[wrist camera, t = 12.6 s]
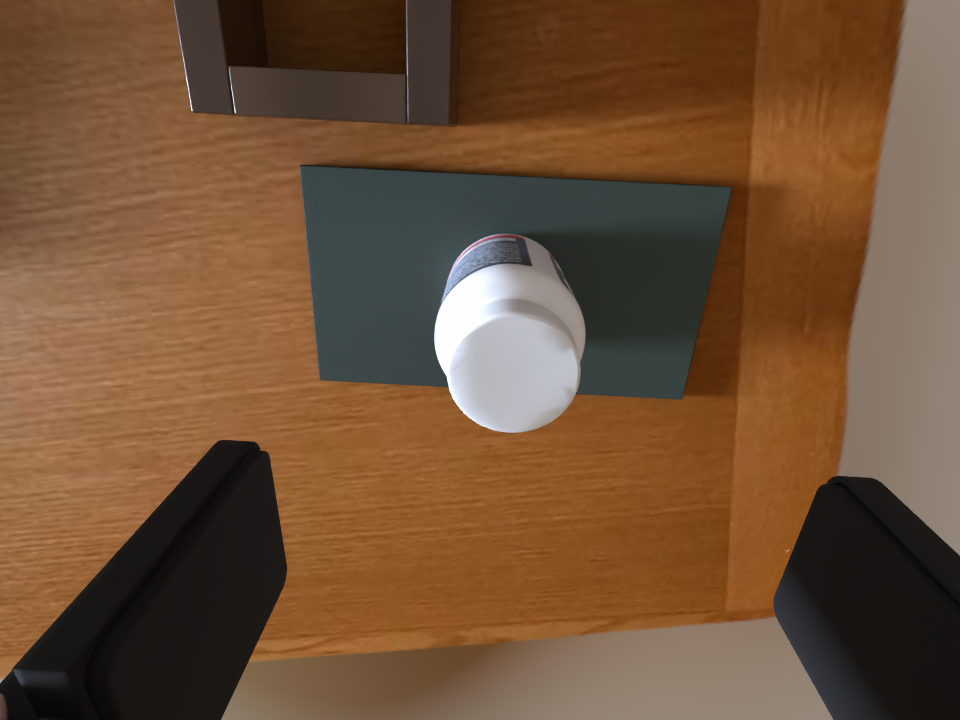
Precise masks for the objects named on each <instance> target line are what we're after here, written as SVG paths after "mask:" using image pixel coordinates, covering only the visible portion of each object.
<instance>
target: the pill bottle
mask: <svg viewBox="0 0 960 720" xmlns="http://www.w3.org/2000/svg"><path fill="white" fill-rule="evenodd" d="M584 346H585V324H584V318H583V315H582V312H581V309H580V306H579V304H578V302H577V300H576V298H575V296H574V294H573V292H572V290H571V288H570V286H569V284H568V282H567V280H566V278H565V276H564V274H563V272H562V270H561V268H560V266H559V265H558V263H557V261H556V260H555V259H554V257H553V256H552V255H551V254H550V253H549V252H548V251H547V250H546V249H545V248H544V247H543V246H541V245H540V244H539V243H537V242H535V241H533V240H531V239H529V238H526V237H523V236H520V235H515V234H496V235H491V236H488V237H485V238H482V239H480V240H478V241H477V242H475V243H473V244H472V245H470V246H469V247H468V248H467V249H466V250H465V251H463V253H462V254H461V255H460V256H459V257H458V259H457V260H456V262H455V263H454V265H453V267H452V269H451V272H450V274H449V277H448V281H447V285H446V288H445V292H444V295H443V299H442V302H441V306H440V308H439V312H438V316H437V320H436V325H435V349H436V353H437V357H438V360H439V362H440V365H441V367H442V369H443V371H444V372H445V374H446V376H447V379H448V385H449V389H450V392H451V394H452V397H453V399H454V401H455V402H456V404H457V405H458V406H459V408H460V409H461V410H462V411H463V412H464V413H465V414H466V415H467V416H468V417H469V418H470V419H472V420H473V421H475V422H476V423H478V424H480V425H481V426H484V427H487V428H489V429H492V430H496V431H501V432H514V433H516V432H526V431H530V430H534V429H537V428H540V427H542V426H545V425H547V424H548V423H550V422H552V421H553V420H555V419H556V418H557V417H559V416H560V415H561V414H562V413H563V412H564V411H565V410H566V409H567V407H568V406H569V405H570V404H571V402H572V400H573V398H574V396H575V394H576V392H577V389H578V386H579V383H580V375H581V367H580V361H581V358H582V355H583V351H584Z"/></svg>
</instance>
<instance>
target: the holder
mask: <svg viewBox="0 0 960 720" xmlns="http://www.w3.org/2000/svg"><path fill="white" fill-rule="evenodd" d="M173 3H174V9H175V15H176V21H177V27H178V33H179V39H180V44H181V50H182V56H183V62H184V68H185V74H186V80H187V86H188V92H189V98H190V104H191V110H192V112H194V113H205V114H219V115H232V116H250V117H269V118H289V119H309V120H329V121H349V122H369V123H389V124H409V125H429V126H449V127H456V126H457V109H458V69H459V29H460V0H406V60H407V75H406V74H396V73H376V72H356V71H336V70H316V69H295V68H275V67H268V64H267V55H266V46H265V36H264V27H263V18H262V9H261V0H173Z"/></svg>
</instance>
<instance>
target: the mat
mask: <svg viewBox="0 0 960 720" xmlns="http://www.w3.org/2000/svg"><path fill="white" fill-rule="evenodd" d="M300 173H301V184H302V194H303V205H304V216H305V227H306V238H307V248H308V259H309V270H310V281H311V291H312V302H313V313H314V324H315V335H316V345H317V356H318V367H319V378H320V380H326V381H345V382H363V383H382V384H401V385H420V386H438V387H449V385H448V379H447V376H446V374H445V372H444V371H443V369H442V367H441V365H440V362H439V360H438V357H437V353H436V349H435V325H436V320H437V316H438V312H439V308H440V306H441V302H442V299H443V295H444V292H445V288H446V285H447V281H448V277H449V274H450V272H451V269H452V267H453V265H454V263H455V262H456V260H457V259H458V257H459V256H460V255H461V254H462V253H463V251H465V250H466V249H467V248H468V247H469V246H470V245H472V244H473V243H475V242H477V241H478V240H480V239H482V238H485V237H488V236H491V235H496V234H515V235H520V236H523V237H526V238H529V239H531V240H533V241H535V242H537V243H539V244H540V245H541V246H543V247H544V248H545V249H546V250H547V251H548V252H549V253H550V254H551V255H552V256H553V257H554V259H555V260H556V261H557V263H558V265H559V266H560V268H561V270H562V272H563V274H564V276H565V278H566V280H567V282H568V284H569V286H570V288H571V290H572V292H573V294H574V296H575V298H576V300H577V302H578V304H579V306H580V309H581V312H582V315H583V318H584V324H585V346H584V351H583V355H582V358H581V361H580V367H581V375H580V383H579V386H578V389H577V392H576V394H588V395H607V396H625V397H644V398H663V399H682V398H683V393H684V389H685V385H686V381H687V376H688V372H689V368H690V364H691V360H692V355H693V351H694V347H695V343H696V339H697V334H698V330H699V326H700V322H701V317H702V313H703V309H704V305H705V301H706V296H707V292H708V288H709V284H710V279H711V275H712V271H713V267H714V263H715V258H716V254H717V250H718V246H719V241H720V237H721V233H722V229H723V225H724V220H725V216H726V212H727V208H728V203H729V199H730V195H731V191H732V187H728V186H710V185H690V184H670V183H651V182H631V181H611V180H592V179H572V178H552V177H533V176H513V175H493V174H474V173H454V172H434V171H415V170H395V169H375V168H356V167H336V166H316V165H300Z"/></svg>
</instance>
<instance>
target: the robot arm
mask: <svg viewBox="0 0 960 720" xmlns="http://www.w3.org/2000/svg"><path fill="white" fill-rule="evenodd" d="M286 574H287V564H286V558H285V551H284V545H283V539H282V532H281V526H280V519H279V513H278V507H277V500H276V494H275V488H274V481H273V475H272V469H271V462H270V457H269V454H268V453H267V452H266V451H260V447H259V446H258V444H257V443H255V442H249V441H232V440H220V441H218V442H217V443H216V444H214V445H213V447H212V448H211V449H210V450H209V451H208V452H207V453H206V454H205V455H204V457H203V458H202V459H201V460H200V461H199V462H198V463H197V464H196V465H195V467H194V468H193V469H192V470H191V471H190V472H189V473H188V474H187V475H186V476H185V478H184V479H183V480H182V481H181V482H180V483H179V484H178V485H177V486H176V488H175V489H174V490H173V491H172V492H171V493H170V494H169V495H168V496H167V498H166V499H165V500H164V501H163V502H162V503H161V504H160V505H159V506H158V508H157V509H156V510H155V511H154V512H153V513H152V514H151V515H150V516H149V518H148V519H147V520H146V521H145V522H144V523H143V524H142V525H141V526H140V528H139V529H138V530H137V531H136V532H135V533H134V534H133V535H132V536H131V538H130V539H129V540H128V541H127V542H126V543H125V544H124V545H123V546H122V547H121V549H120V550H119V551H118V552H117V553H116V554H115V555H114V556H113V557H112V559H111V560H110V561H109V562H108V563H107V564H106V565H105V566H104V567H103V569H102V570H101V571H100V572H99V573H98V574H97V575H96V576H95V577H94V579H93V580H92V581H91V582H90V583H89V584H88V585H87V586H86V587H85V589H84V590H83V591H82V592H81V593H80V594H79V595H78V596H77V597H76V599H75V600H74V601H73V602H72V603H71V604H70V605H69V606H68V607H67V608H66V610H65V611H64V612H63V613H62V614H61V615H60V616H59V617H58V618H57V620H56V621H55V622H54V623H53V624H52V625H51V626H50V627H49V628H48V630H47V631H46V632H45V633H44V634H43V635H42V636H41V637H40V638H39V640H38V641H37V642H36V643H35V644H34V645H33V646H32V647H31V648H30V650H29V651H28V652H27V653H26V654H25V655H24V656H23V657H22V658H21V660H20V661H19V662H18V663H17V664H16V665H15V666H14V667H13V668H12V671H11V672H10V673H9V674H8V675H7V677H6V678H5V679H4V680H3V681H2V682H1V683H0V720H221V718H222V716H223V714H224V712H225V710H226V707H227V705H228V703H229V701H230V699H231V697H232V695H233V693H234V691H235V689H236V687H237V684H238V682H239V680H240V678H241V676H242V674H243V672H244V670H245V667H246V665H247V663H248V661H249V659H250V657H251V655H252V653H253V651H254V648H255V646H256V644H257V642H258V640H259V638H260V636H261V634H262V632H263V629H264V627H265V625H266V623H267V621H268V619H269V617H270V615H271V612H272V610H273V608H274V606H275V604H276V602H277V600H278V598H279V595H280V593H281V591H282V589H283V586H284V583H285V580H286ZM774 611H775V614H776V617H777V619H778V621H779V623H780V625H781V627H782V629H783V630H784V632H785V634H786V636H787V638H788V639H789V641H790V643H791V645H792V647H793V648H794V650H795V652H796V654H797V655H798V657H799V659H800V661H801V663H802V664H803V666H804V668H805V670H806V671H807V673H808V675H809V677H810V678H811V680H812V682H813V684H814V685H815V687H816V689H817V691H818V693H819V695H820V696H821V698H822V700H823V702H824V703H825V705H826V707H827V709H828V711H829V712H830V714H831V716H832V718H833V719H834V720H960V556H959V555H958V554H957V553H956V552H955V551H954V550H953V549H952V548H950V546H949V545H948V544H946V543H945V542H944V541H943V540H942V539H941V538H940V537H939V536H938V535H937V534H936V533H935V532H934V531H932V530H931V529H930V528H929V527H928V526H927V525H926V524H925V523H924V522H923V521H922V520H921V519H919V517H918V516H916V515H915V514H914V513H913V512H912V511H911V510H910V509H909V508H908V507H907V506H906V505H904V503H903V502H902V501H900V500H899V499H898V498H897V497H896V496H895V495H894V494H893V493H892V492H891V491H890V490H888V488H887V487H885V486H884V485H883V484H882V483H881V482H879V481H878V480H876V479H873V478H862V477H847V476H836V477H832V478H831V479H830V480H829V481H828V482H827V484H824V485H821V486H820V487H819V488H818V490H817V492H816V495H815V497H814V499H813V502H812V504H811V507H810V509H809V512H808V514H807V517H806V519H805V522H804V524H803V527H802V529H801V532H800V534H799V537H798V539H797V541H796V544H795V546H794V549H793V551H792V554H791V556H790V559H789V561H788V564H787V566H786V569H785V571H784V574H783V576H782V579H781V581H780V583H779V586H778V588H777V591H776V593H775V596H774Z"/></svg>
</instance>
